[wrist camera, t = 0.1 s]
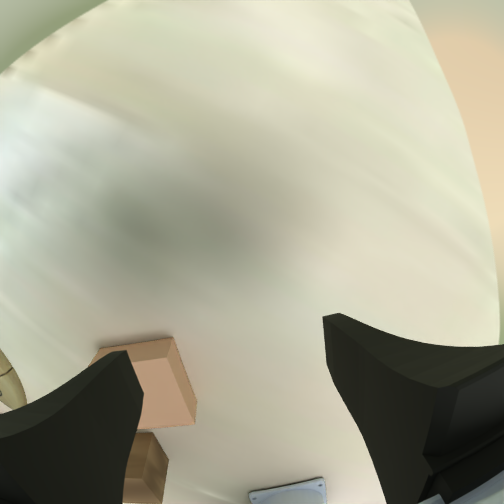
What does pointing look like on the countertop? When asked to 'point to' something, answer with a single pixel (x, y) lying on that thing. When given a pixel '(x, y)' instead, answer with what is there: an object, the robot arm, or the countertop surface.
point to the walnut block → (145, 471)
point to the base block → (160, 383)
